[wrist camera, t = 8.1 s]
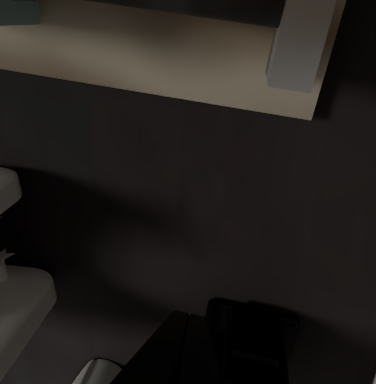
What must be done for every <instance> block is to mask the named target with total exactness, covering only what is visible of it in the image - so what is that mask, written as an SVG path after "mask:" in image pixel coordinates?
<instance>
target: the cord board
mask: <svg viewBox="0 0 376 384" xmlns="http://www.w3.org/2000/svg"><path fill="white" fill-rule="evenodd" d="M28 1H35V2H39V10H40V24H37V25H8V26H0V69H5V70H11V71H17V72H23V73H29V74H35V75H41V76H47V77H53V78H59V79H65V80H71V81H77V82H83V83H89V84H95V85H101V86H107V87H113V88H119V89H125V90H131V91H137V92H143V93H149V94H155V95H161V96H167V97H173V98H179V99H185V100H191V101H197V102H203V103H209V104H216V105H222V106H228V107H234V108H240V109H246V110H252V111H258V112H264V113H270V114H276V115H282V116H288V117H294V118H300V119H306V120H312V117H313V113H314V110H315V106H316V103H317V99H318V96H319V92H320V89H321V86H322V82H323V79H324V75H325V72H326V68H327V65H328V62H329V58H330V55H331V51H332V48H333V44H334V41H335V37H336V34H337V31H338V27H339V24H340V20H341V17H342V13H343V10H344V7H345V3H346V0H28Z"/></svg>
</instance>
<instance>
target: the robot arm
mask: <svg viewBox="0 0 376 384" xmlns="http://www.w3.org/2000/svg"><path fill="white" fill-rule="evenodd" d="M213 305H216V306H217V307H214V306H213ZM291 322H294V323H291ZM299 327H300V322H299V318H298V317H296V316H294V315H289V314H284V313H280V312H275V311H271V310H266V309H261V308H257V307H252V306H248V305H243V304H238V303H234V302H229V301H224V300H220V299H211V300H209V302H208V306H207V311H206V316H205V317H203V316H198V315H194V314H191V315H190V316H189V314H188V313H185V312H180V311H173V312H172V313H171V314H170V316H169V317H168V318H167V319H166V320H165V321H164V322H163V323H162V325H161V326H160V327H159V328H158V329H157V330H156V331H155V332H154V334H153V335H152V336H151V337H150V338H149V339H148V340H147V342H146V343H145V344H144V345H143V346H142V347H141V348H140V349H139V351H138V352H137V353H136V354H135V355H134V356H133V357H132V359H131V360H130V361H129V362H128V363H127V364H126V365H125V366H124V368H123V369H122V370H121V371H120V372H119V373H118V374H117V375H116V377H115V378H114V379H113V380H112V381H111V382H110V383H109V384H289V379H288V368H287V359H288V356H289V354H290V351H291V348H292V346H293V343H294V340H295V338H296V335H297V333H298V330H299Z"/></svg>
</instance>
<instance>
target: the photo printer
mask: <svg viewBox="0 0 376 384" xmlns="http://www.w3.org/2000/svg"><path fill="white" fill-rule="evenodd" d="M121 370H122V369H121V368H120V367H119V366H118V365H116V364H115V363H113V362H111V361H108V360H105V359H97V360H94V359H93V360H91V361H90V362H89V363H88V364H87V365H86V366H85V367H84V368H83V369H82V371H81V372H80V374H79V375H78V376H77V378H76V379H75V381H74V382H73V383H72V384H109V383H110V382H111V381H112V380H113V379H114V378H115V377H116V375H117V374H118V373H119V372H120V371H121Z"/></svg>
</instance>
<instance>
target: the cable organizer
mask: <svg viewBox="0 0 376 384" xmlns="http://www.w3.org/2000/svg"><path fill="white" fill-rule="evenodd" d="M21 196H22V191H21V187H20V183H19V179H18V175H17V173H16V172H15V171H13V170H11V169H8V168H2V167H0V214H1V213H3V212H4V211H5V210H7V209H8V208H9V207H10V206H12V205H13V204H14V203H16V202H17V201H18V200H19V199H20V198H21ZM0 218H2V217H0ZM13 254H15V253H8V254H6V248H5V249H4V250H3V251H1V252H0V382H1V380H2V379H3V378H4V376H5V375H6V373H7V372H8V370H9V369H10V367H11V366H12V365H13V363H14V362H15V360H16V359H17V357H18V356H19V355H20V353H21V352H22V350H23V349H24V347H25V346H26V344H27V343H28V342H29V340H30V339H31V337H32V336H33V334H34V333H35V332H36V330H37V329H38V327H39V326H40V324H41V323H42V321H43V320H44V319H45V317H46V316H47V314H48V313H49V311H50V310H51V309H52V307H53V306H54V304H55V302H56V299H57V295H56V290H55V286H54V281H53V278H52V276H51V275H50V274H49V273H48V272H46V271H44V270H41V269H38V268H32V267H22V266H13V265H6V264H5V261H4V260H5V259H6V258H8V257H10V256H11V255H13Z"/></svg>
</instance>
